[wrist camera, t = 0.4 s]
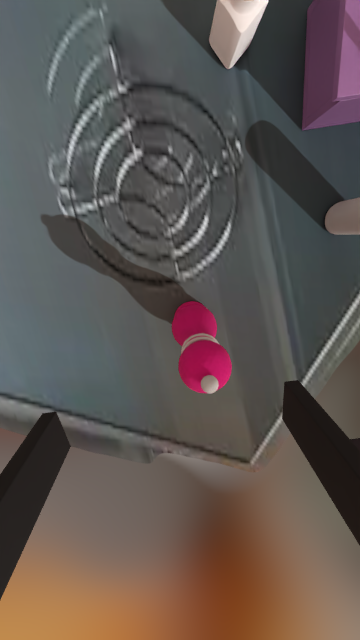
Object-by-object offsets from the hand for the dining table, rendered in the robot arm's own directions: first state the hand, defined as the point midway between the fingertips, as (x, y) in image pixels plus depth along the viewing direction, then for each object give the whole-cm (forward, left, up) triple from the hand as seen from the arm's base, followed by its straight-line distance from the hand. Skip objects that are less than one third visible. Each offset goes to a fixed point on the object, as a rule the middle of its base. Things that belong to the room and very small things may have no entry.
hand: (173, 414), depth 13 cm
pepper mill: (+5, +3, -28) cm, 28 cm away
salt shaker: (-30, +12, -28) cm, 43 cm away
